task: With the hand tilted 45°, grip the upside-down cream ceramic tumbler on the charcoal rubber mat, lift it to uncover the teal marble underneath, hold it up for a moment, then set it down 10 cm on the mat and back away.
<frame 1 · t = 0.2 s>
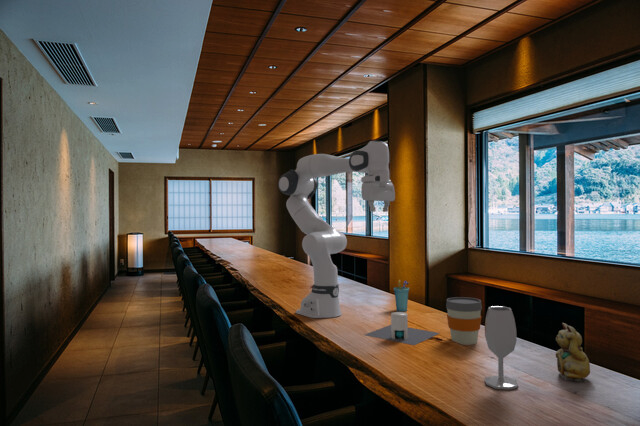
hand: (379, 211, 192), 48 cm above the table, tool pointing down, fingers open, 8 cm apart
reusable coffee cup: (464, 341, 166), on the table
teal marble: (399, 333, 171), point 2 cm above the table, touching charcoal mat
charcoal mat: (401, 335, 176), on the table
decorative figurine: (573, 378, 129), on the table
wineglass: (501, 385, 125), on the table
cup: (402, 311, 218), on the table
cream tumbler: (399, 337, 171), resting on charcoal mat
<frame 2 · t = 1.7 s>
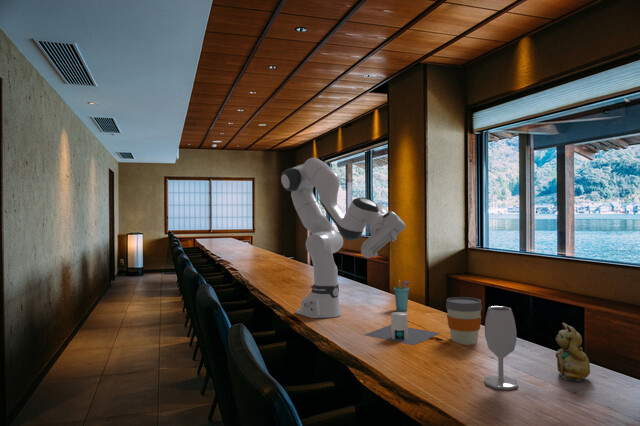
hand: (384, 247, 168), 35 cm above the table, tool tilted 65°, fingers open, 8 cm apart
nothing on the table moved.
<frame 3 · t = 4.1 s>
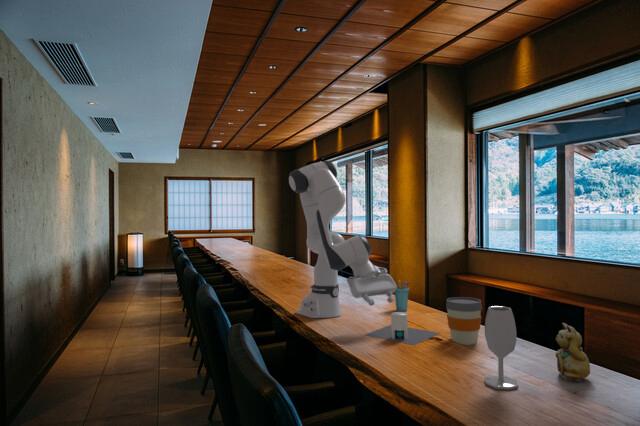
hand: (382, 303, 176), 12 cm above the table, tool tilted 45°, fingers open, 8 cm apart
nothing on the table moved.
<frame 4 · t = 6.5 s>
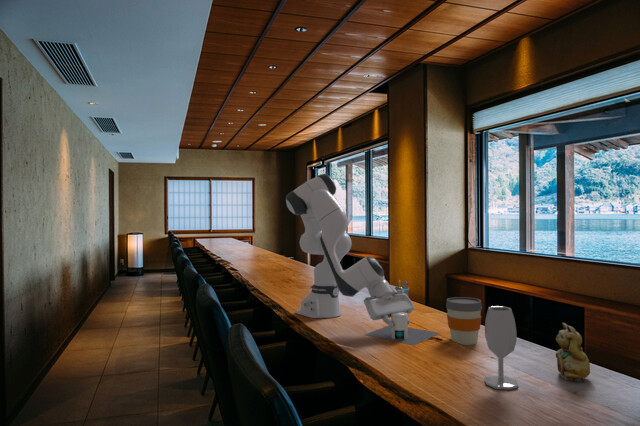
hand: (400, 325, 170), 5 cm above the table, tool tilted 45°, fingers closed on cream tumbler, 6 cm apart
cream tumbler: (399, 337, 171), resting on charcoal mat, touching gripper
everything else where it was.
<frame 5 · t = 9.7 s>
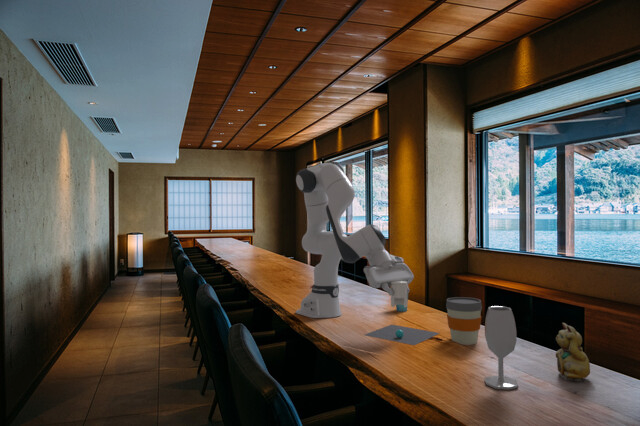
hand: (400, 293, 170), 17 cm above the table, tool tilted 45°, fingers closed on cream tumbler, 6 cm apart
cream tumbler: (399, 305, 171), point 12 cm above the table, touching gripper
everything else where it was.
when the fingers open (7 cm above the table, at t = 13.0 s): cream tumbler drops 1 cm, resting on charcoal mat.
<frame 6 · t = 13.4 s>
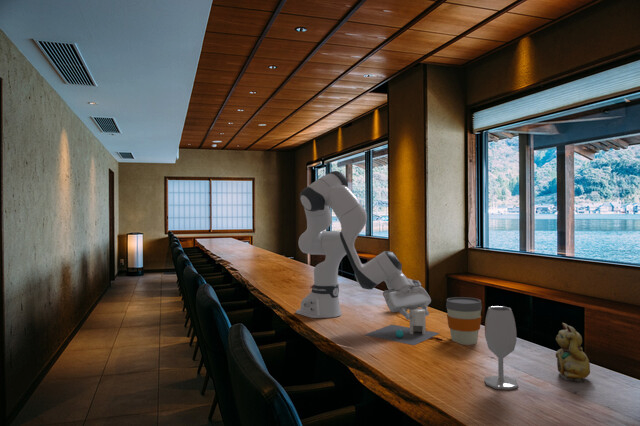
hand: (418, 316, 176), 7 cm above the table, tool tilted 45°, fingers open, 8 cm apart
cream tumbler: (417, 332, 177), resting on charcoal mat
everything else where it was.
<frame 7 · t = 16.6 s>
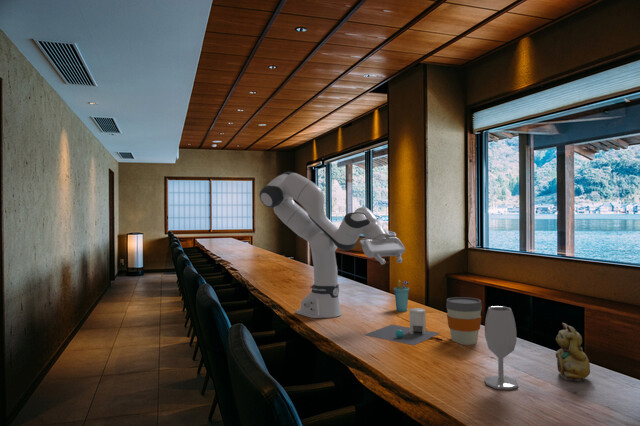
hand: (392, 262, 189), 27 cm above the table, tool tilted 45°, fingers open, 8 cm apart
nothing on the table moved.
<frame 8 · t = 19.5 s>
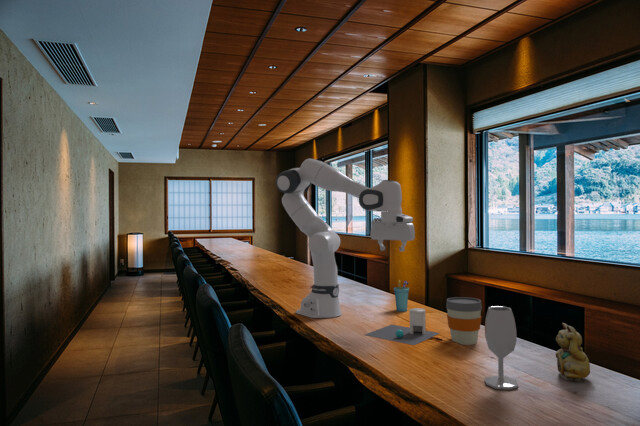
hand: (392, 250, 193), 31 cm above the table, tool pointing down, fingers open, 8 cm apart
nothing on the table moved.
at the end: cream tumbler inside the target area (0.0 cm from its centre), point 0.5 cm above the table; cream tumbler tilted 0°; teal marble moved 0.0 cm from its start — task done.
